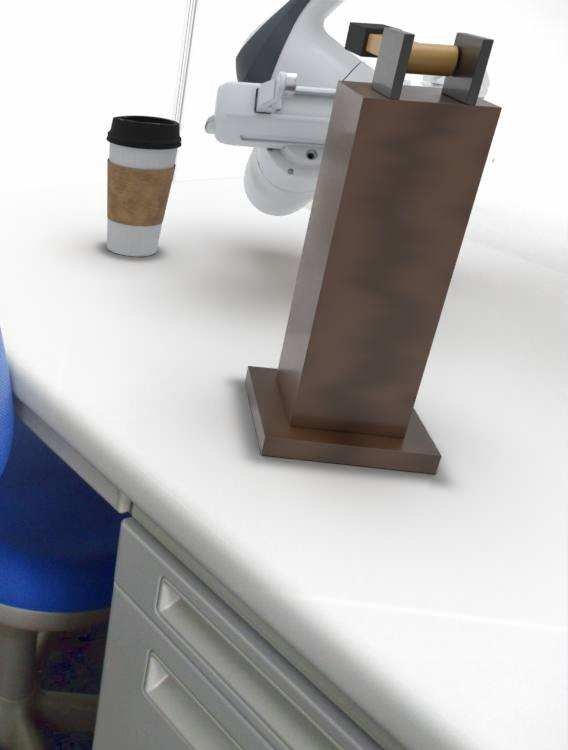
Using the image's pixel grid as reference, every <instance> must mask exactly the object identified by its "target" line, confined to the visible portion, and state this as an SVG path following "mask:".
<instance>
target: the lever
mask: <svg viewBox="0 0 568 750" xmlns="http://www.w3.org/2000/svg"><path fill="white" fill-rule="evenodd" d="M385 27H387V28H395V29H399V30H402V29H401V28H397V27H394V26H390V25H386V24H383V23H371V22H370V23H368V22H354V21H350V22H349V25H348V29H347V34H346V38H345V45H344V47H345V49H346V50H348V51H350V52H351V53H352V54H353V55H355V56H357V57H358V56H359V57H362V58H374V59H377V58H378V53H379V49H380V45H381V40H382V36H383V31H384V28H385ZM457 60H458V47H457V46H455V45H454V44H438V43H425V42H418V41H415V40H414V42H413V46H412V50H411V54H410V58H409V62H408V66H407V70H406V75H421V76H423V75H433V76H447V77H449V76H451V75H452V73H453V72H454V70H455V67H456V64H457Z"/></svg>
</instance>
